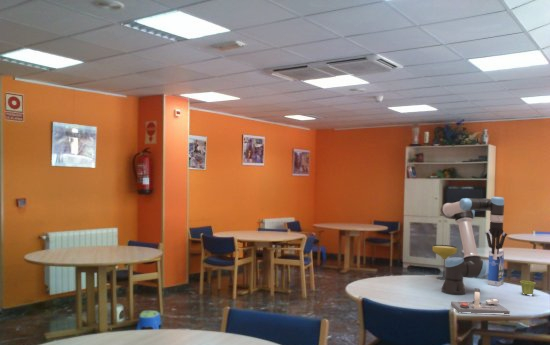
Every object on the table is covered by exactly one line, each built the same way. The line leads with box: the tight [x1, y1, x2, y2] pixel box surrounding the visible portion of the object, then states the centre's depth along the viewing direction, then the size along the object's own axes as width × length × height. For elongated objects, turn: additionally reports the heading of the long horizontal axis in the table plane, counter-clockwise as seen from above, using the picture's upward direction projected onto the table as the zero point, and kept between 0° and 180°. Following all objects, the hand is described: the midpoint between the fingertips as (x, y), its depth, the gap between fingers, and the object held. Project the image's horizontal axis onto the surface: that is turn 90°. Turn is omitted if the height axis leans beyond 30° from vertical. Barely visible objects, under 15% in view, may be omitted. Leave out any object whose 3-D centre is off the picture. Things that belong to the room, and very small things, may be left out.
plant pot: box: [519, 280, 536, 295], centre depth 322 cm, size 9×9×9 cm
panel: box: [450, 300, 511, 314], centre depth 280 cm, size 28×16×5 cm, turn 86°
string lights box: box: [487, 248, 505, 287], centre depth 353 cm, size 13×8×26 cm, turn 139°
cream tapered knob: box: [473, 291, 481, 308], centre depth 275 cm, size 4×3×9 cm
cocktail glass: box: [432, 244, 458, 281], centre depth 367 cm, size 18×18×25 cm
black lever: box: [471, 288, 482, 304], centre depth 284 cm, size 4×3×9 cm
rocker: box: [485, 298, 499, 304], centre depth 284 cm, size 6×4×2 cm, turn 86°
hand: (494, 259), depth 296 cm, fingers closed
